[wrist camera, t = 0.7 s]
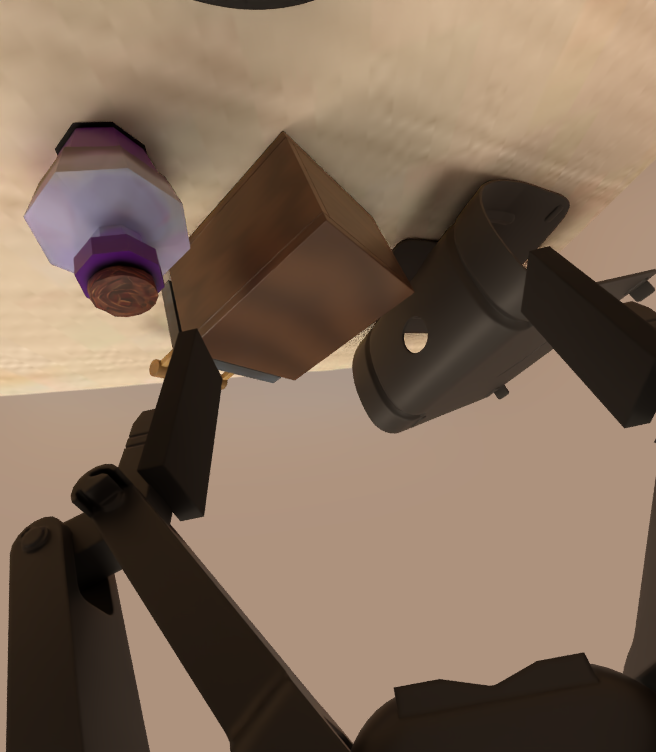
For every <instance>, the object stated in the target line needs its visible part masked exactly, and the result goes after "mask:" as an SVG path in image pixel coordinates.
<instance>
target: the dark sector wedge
mask: <svg viewBox="0 0 656 752" xmlns="http://www.w3.org/2000/svg"><path fill="white" fill-rule="evenodd" d="M195 1H199V2H203V3H207V4H211V5H216V6H221V7H227V8H235V9H249V10H265V9H277V8H285V7H291V6H295V5H300V4H304V3H307V2H311V1H314V0H195Z"/></svg>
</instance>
